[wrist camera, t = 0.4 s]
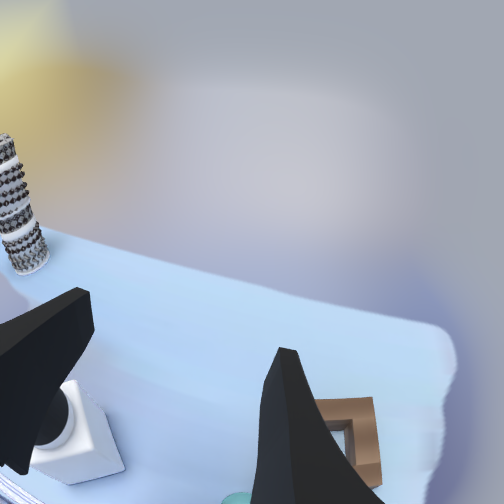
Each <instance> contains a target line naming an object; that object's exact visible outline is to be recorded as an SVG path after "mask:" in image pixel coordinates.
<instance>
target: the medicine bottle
mask: <svg viewBox="0 0 504 504" xmlns="http://www.w3.org/2000/svg"><path fill="white" fill-rule="evenodd" d="M29 466H30V467H32V468H34V469H36V470H37V471H39V472H41V473H43V474H45V475H47V476H49V477H51V478H53V479H56V480H58V481H60V482H62V483H64V484H66V485H71V484H75V483H80V482H84V481H88V480H92V479H96V478H100V477H104V476H108V475H111V474H115V473H118V472H121V471H124V470H125V467H124V464H123V462H122V459H121V457H120V454H119V452H118V449H117V447H116V444H115V441H114V439H113V436H112V433H111V430H110V427H109V424H108V421H107V418H106V415H105V413H104V411H103V410H102V409H101V408H100V407H99V406H98V405H97V404H96V403H95V402H94V400H93V399H92V398H91V397H90V396H89V395H88V394H87V392H86V391H85V390H84V389H83V388H82V386H81V385H80V384H79V383H78V382H77V381H76V380H71V381H67V382H64V383H62V385H61V386H60V388H59V389H58V391H57V393H56V395H55V396H54V398H53V400H52V402H51V404H50V406H49V409H48V411H47V413H46V415H45V418H44V420H43V423H42V425H41V428H40V430H39V433H38V436H37V439H36V442H35V446H34V449H33V452H32V457H31V461H30V465H29Z"/></svg>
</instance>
